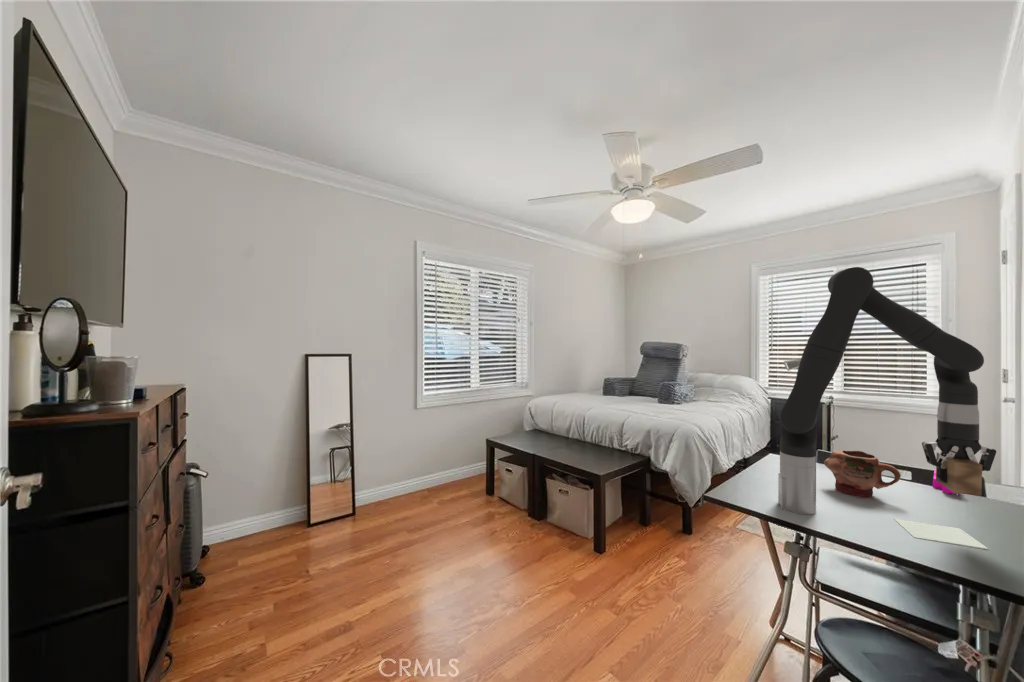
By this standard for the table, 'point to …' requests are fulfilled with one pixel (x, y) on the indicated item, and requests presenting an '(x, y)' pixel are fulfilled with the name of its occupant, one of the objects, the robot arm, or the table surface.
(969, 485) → the walnut block
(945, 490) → the toy block
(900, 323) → the robot arm
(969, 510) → the table surface
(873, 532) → the table surface
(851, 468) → the decorative planter
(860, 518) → the table surface
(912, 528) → the mat
